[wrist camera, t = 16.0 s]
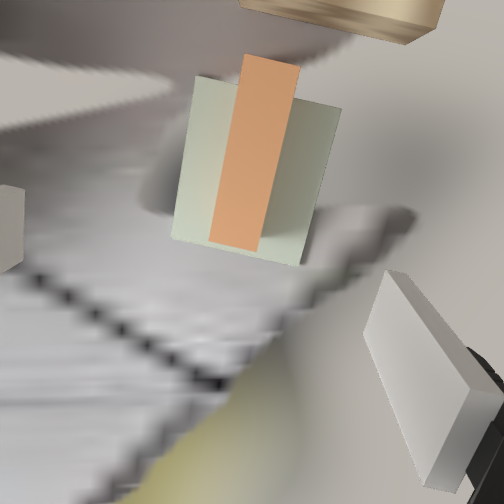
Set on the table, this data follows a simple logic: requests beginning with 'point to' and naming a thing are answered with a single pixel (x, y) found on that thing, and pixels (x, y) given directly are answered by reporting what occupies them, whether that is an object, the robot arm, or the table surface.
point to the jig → (360, 15)
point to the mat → (285, 181)
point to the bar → (253, 150)
